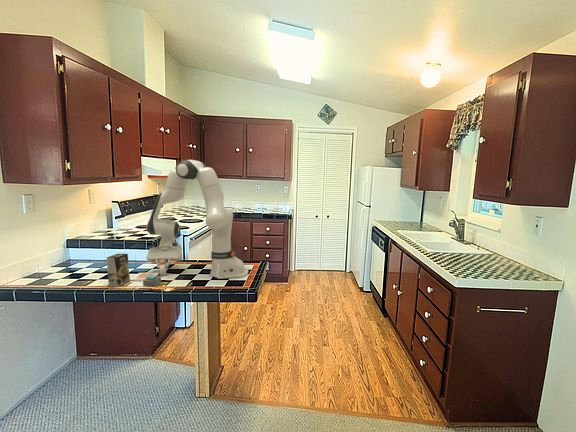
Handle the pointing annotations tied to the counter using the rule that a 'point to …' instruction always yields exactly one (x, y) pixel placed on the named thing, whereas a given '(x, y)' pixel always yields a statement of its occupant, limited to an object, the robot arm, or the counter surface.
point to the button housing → (152, 281)
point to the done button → (152, 277)
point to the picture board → (143, 276)
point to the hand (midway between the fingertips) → (162, 267)
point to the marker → (162, 267)
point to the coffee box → (118, 270)
